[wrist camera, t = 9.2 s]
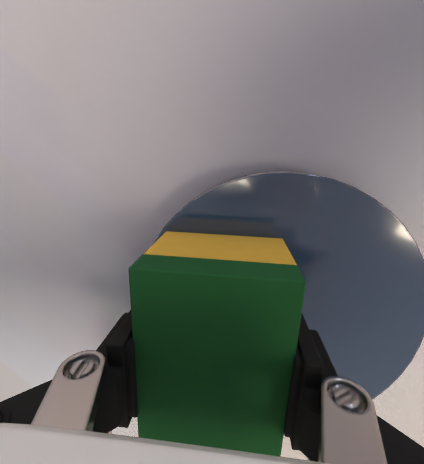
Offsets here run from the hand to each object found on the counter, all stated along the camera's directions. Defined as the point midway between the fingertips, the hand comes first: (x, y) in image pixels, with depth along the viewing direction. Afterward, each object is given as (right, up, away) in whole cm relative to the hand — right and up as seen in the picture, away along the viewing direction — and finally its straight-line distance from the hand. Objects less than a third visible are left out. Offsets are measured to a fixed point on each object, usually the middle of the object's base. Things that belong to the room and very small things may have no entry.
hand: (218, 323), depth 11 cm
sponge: (0, 0, +1) cm, 1 cm away
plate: (+3, +1, +2) cm, 3 cm away
